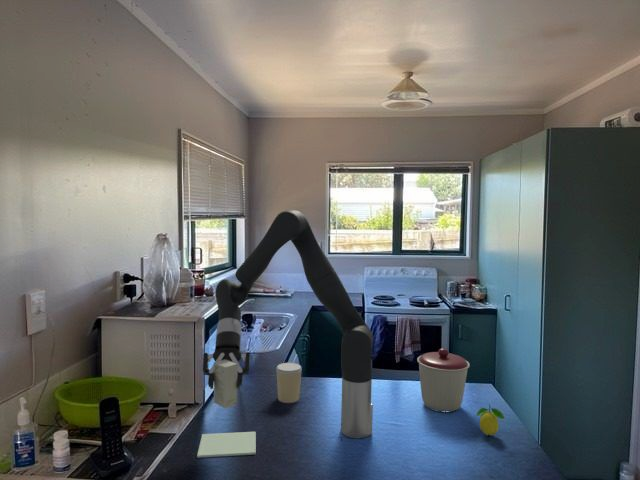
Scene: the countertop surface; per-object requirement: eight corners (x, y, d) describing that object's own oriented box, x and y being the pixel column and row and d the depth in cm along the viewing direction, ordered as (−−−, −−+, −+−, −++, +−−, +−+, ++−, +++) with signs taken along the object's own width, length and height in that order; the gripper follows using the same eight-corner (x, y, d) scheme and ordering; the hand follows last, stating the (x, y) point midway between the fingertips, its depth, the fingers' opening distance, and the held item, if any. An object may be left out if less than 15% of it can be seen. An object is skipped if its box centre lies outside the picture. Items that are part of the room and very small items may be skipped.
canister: (405, 404, 159) (407, 347, 158) (434, 392, 171) (436, 338, 170) (449, 423, 146) (451, 360, 145) (477, 408, 158) (480, 350, 156)
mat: (255, 433, 136) (255, 431, 136) (255, 454, 124) (255, 452, 124) (202, 436, 134) (202, 434, 134) (197, 457, 122) (197, 455, 122)
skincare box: (237, 405, 128) (238, 363, 127) (224, 409, 125) (225, 367, 124) (225, 398, 133) (226, 358, 132) (212, 402, 129) (213, 361, 129)
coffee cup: (297, 392, 168) (297, 361, 168) (304, 402, 160) (304, 369, 159) (273, 395, 165) (273, 363, 165) (279, 405, 157) (279, 372, 156)
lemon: (503, 440, 135) (505, 408, 134) (485, 441, 134) (487, 409, 133) (492, 430, 141) (493, 399, 141) (474, 431, 140) (476, 400, 140)
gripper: (203, 330, 134) (198, 382, 123) (251, 329, 136) (250, 381, 125) (205, 342, 140) (200, 393, 129) (251, 341, 142) (250, 392, 131)
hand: (225, 387), depth 127 cm, fingers closed on skincare box, 7 cm apart
